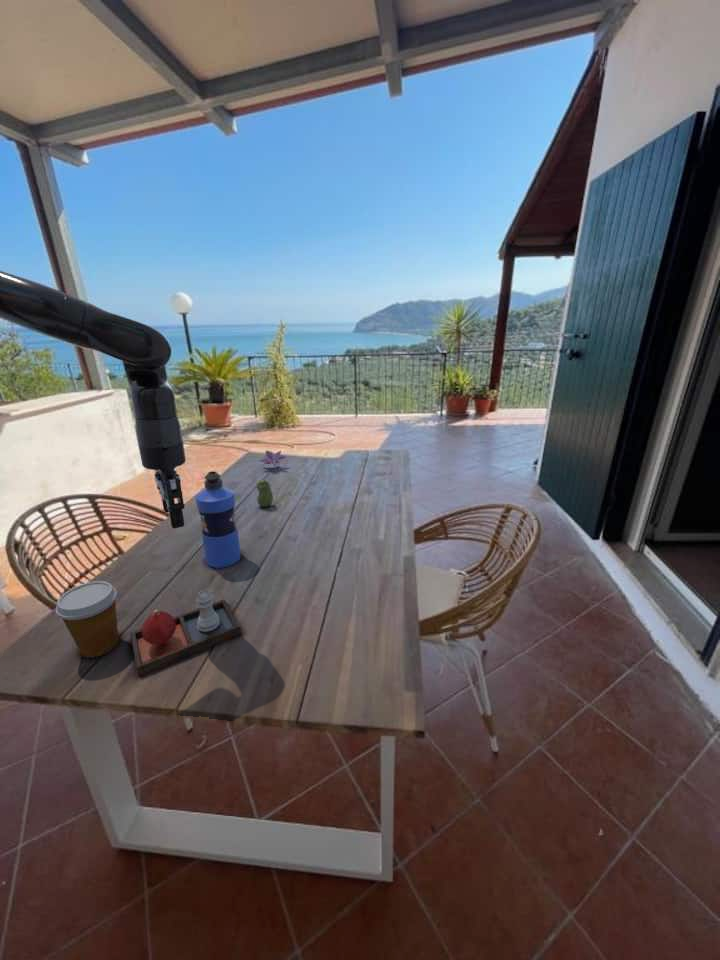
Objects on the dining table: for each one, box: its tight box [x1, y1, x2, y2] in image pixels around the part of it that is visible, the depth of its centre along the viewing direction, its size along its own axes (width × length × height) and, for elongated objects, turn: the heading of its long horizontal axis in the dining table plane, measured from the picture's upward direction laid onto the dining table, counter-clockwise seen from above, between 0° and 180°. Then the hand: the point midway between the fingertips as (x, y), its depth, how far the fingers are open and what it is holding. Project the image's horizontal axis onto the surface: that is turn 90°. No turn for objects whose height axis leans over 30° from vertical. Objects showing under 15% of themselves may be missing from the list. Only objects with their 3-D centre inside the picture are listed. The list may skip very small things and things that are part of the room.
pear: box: [256, 479, 274, 508], centre depth 138 cm, size 6×5×10 cm
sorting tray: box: [129, 598, 242, 677], centre depth 78 cm, size 19×11×2 cm, turn 125°
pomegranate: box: [141, 609, 176, 645], centre depth 74 cm, size 6×6×8 cm
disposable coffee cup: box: [55, 580, 119, 658], centre depth 74 cm, size 10×10×12 cm
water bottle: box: [195, 471, 242, 569], centre depth 102 cm, size 9×9×25 cm
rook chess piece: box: [195, 589, 220, 632], centre depth 79 cm, size 4×4×8 cm
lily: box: [259, 450, 288, 473], centre depth 177 cm, size 12×12×10 cm
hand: (174, 518), depth 78 cm, fingers open, 8 cm apart
